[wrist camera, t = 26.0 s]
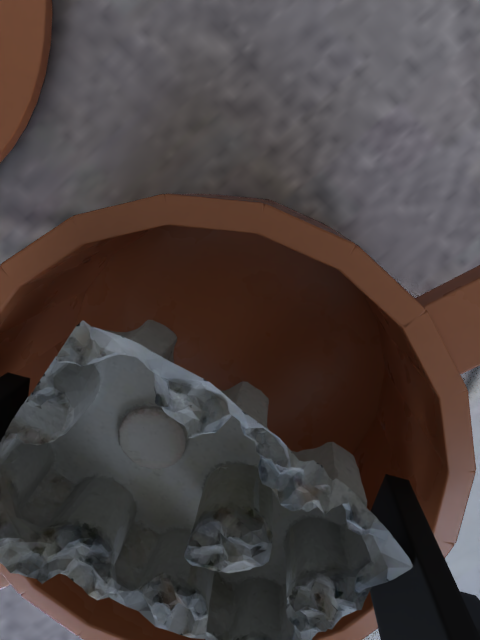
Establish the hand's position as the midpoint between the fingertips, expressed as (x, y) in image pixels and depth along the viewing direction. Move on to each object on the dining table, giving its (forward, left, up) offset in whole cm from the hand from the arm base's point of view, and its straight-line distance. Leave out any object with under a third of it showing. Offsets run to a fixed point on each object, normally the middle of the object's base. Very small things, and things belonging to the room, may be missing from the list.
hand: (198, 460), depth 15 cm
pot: (0, 0, -8) cm, 8 cm away
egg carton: (0, 0, 0) cm, 0 cm away
